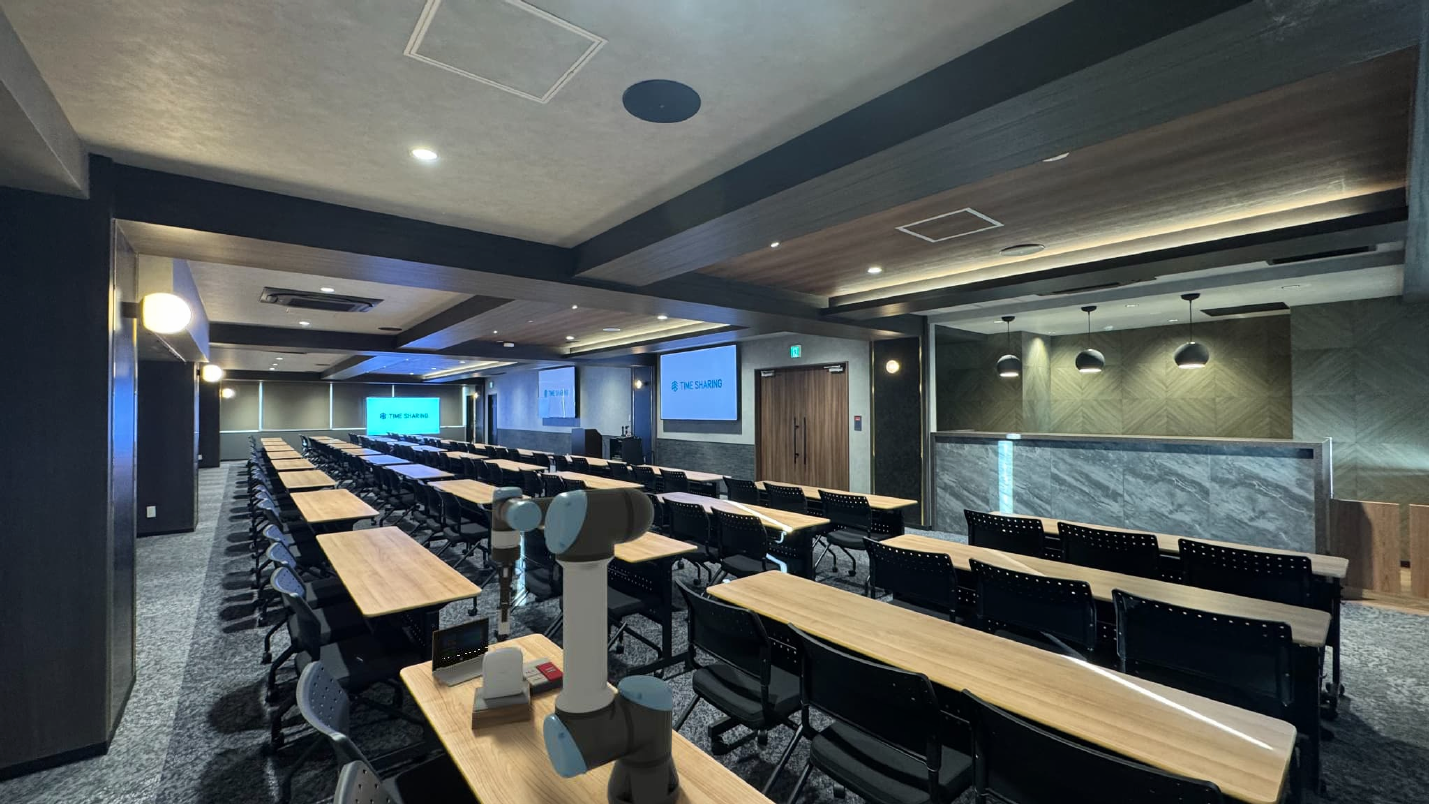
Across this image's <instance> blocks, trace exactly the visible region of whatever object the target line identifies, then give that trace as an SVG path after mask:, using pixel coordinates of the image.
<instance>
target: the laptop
mask: <svg viewBox="0 0 1429 804" xmlns="http://www.w3.org/2000/svg"><path fill="white" fill-rule="evenodd" d="M489 631H490V617H489V616H486V617H483V618H479V619H475V620H471V621H467V622H465V623H460V624H456V625H453V626H449V627H446V628H441V629H439V630H435V631H433V632H432V649H431V650H432V651H431V652H432V653H431V654H432V655H431V656H432V657H431V672H432V673H431V674H432V675H433V676H434V677H436V678H437V679H438V680H440V681H441V682H442V683H444V684H446V685H447V686H449V687H452V686H455V685H457V684H461V683H463V682H466V681H470V680H472V679H475V678H479V677H481V676H483V659H484V656H485V653H486V652H488V651H489V635H490V634H489V633H490V632H489ZM485 647H488V648H485ZM478 649H480V650H478ZM474 651H476V652H474ZM469 652H471V653H469ZM465 653H467V654H465ZM457 655H460V656H457ZM448 657H449V658H448ZM444 658H445V659H444Z"/></svg>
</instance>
